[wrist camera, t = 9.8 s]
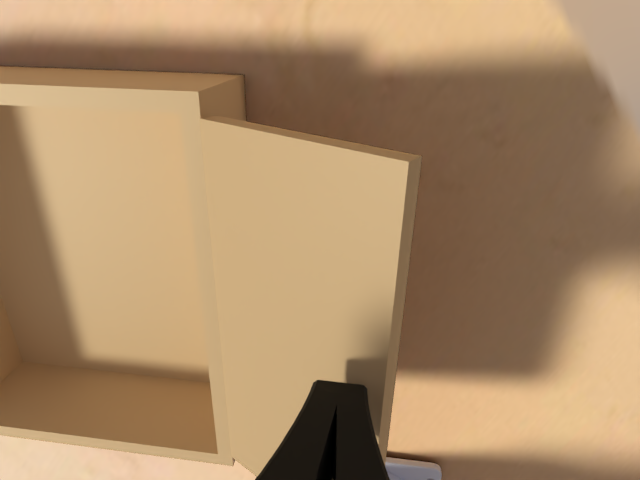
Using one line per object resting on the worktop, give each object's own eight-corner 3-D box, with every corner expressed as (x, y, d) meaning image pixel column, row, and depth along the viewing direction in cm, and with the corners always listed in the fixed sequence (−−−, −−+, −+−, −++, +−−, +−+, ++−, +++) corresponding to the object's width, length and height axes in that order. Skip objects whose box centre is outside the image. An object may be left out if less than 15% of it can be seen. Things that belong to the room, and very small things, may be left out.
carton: (259, 388, 23) (233, 466, 19) (23, 361, 24) (-49, 428, 20) (244, 74, 16) (198, 91, 12) (-78, 63, 18) (-212, 75, 14)
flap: (365, 562, 15) (375, 547, 15) (408, 161, 9) (422, 155, 10) (231, 456, 19) (242, 446, 19) (199, 118, 13) (215, 115, 13)
